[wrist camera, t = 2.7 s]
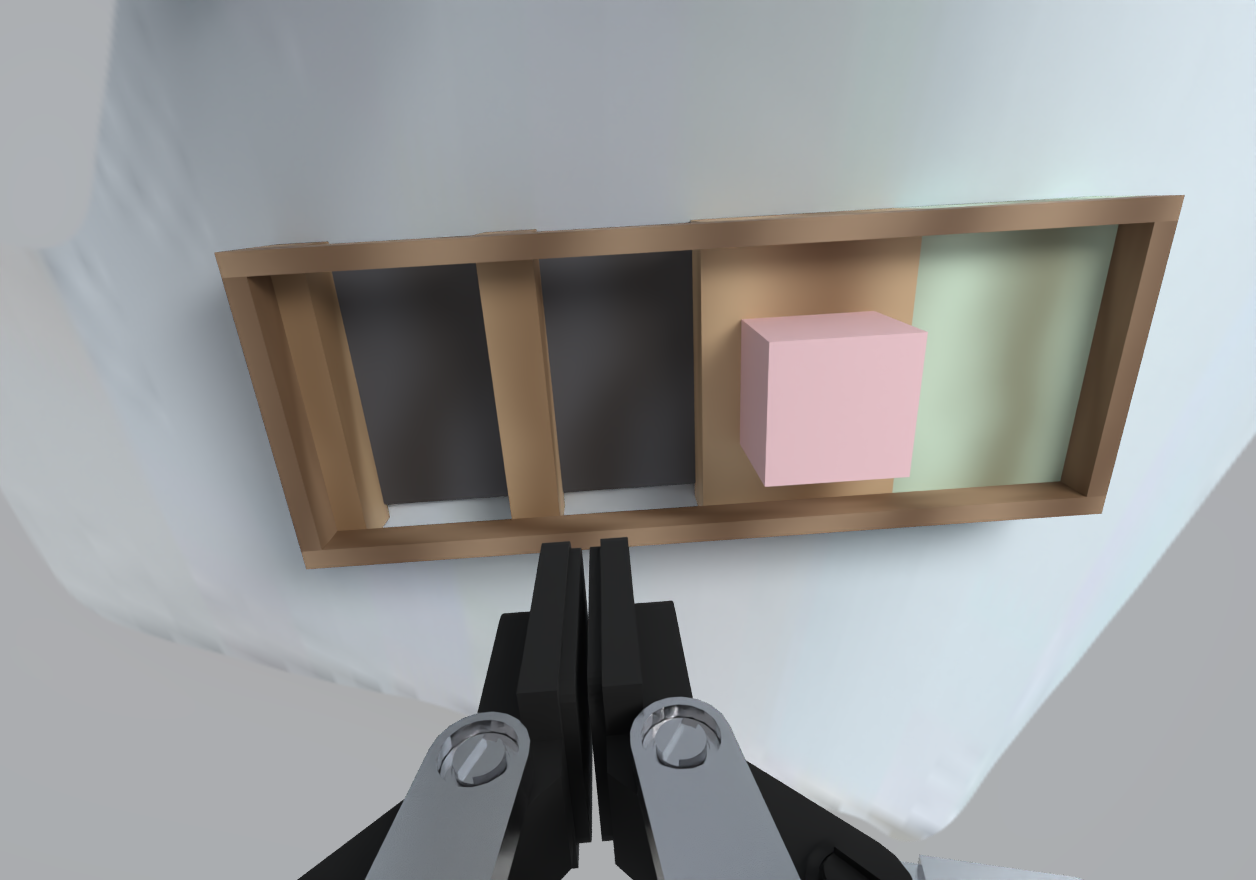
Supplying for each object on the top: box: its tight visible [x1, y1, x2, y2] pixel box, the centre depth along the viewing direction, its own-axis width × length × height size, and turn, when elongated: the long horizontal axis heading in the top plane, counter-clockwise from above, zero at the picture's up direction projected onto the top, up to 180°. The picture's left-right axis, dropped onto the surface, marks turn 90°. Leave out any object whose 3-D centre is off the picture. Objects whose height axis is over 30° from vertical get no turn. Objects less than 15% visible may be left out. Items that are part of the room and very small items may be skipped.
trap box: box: [215, 195, 1185, 569], centre depth 24 cm, size 32×12×4 cm, turn 93°
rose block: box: [740, 311, 928, 487], centre depth 22 cm, size 5×5×4 cm
